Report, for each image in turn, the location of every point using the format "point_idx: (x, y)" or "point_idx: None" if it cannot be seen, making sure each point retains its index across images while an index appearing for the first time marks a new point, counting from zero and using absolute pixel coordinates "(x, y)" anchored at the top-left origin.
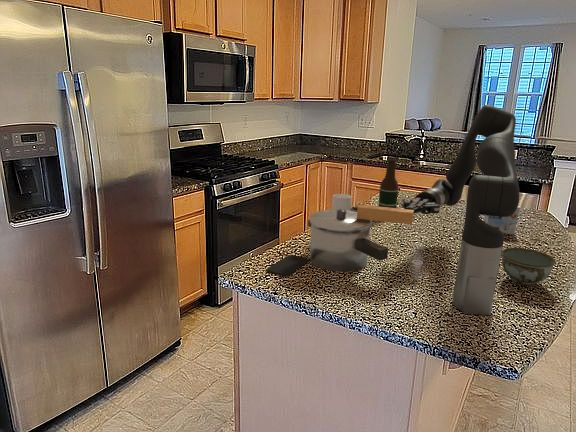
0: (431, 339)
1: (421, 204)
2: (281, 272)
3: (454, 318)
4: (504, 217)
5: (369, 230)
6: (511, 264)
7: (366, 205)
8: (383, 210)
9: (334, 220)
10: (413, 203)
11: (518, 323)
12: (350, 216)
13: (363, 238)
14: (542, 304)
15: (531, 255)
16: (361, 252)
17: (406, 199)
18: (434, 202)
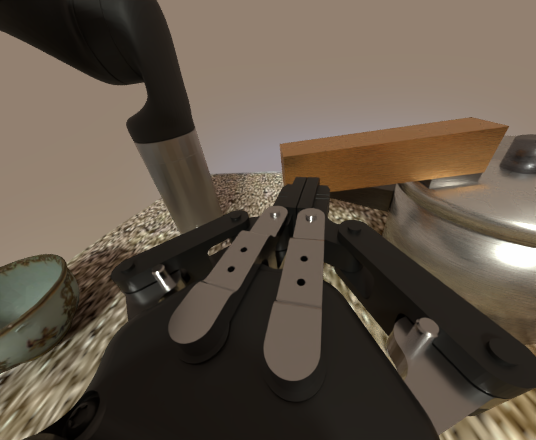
0: (250, 175)
1: (254, 229)
2: None
3: (227, 198)
4: None
5: (405, 201)
6: (70, 272)
7: (473, 129)
8: (378, 132)
9: (503, 153)
10: (311, 228)
11: (164, 213)
12: (527, 186)
13: (389, 188)
14: (96, 258)
15: None
16: (386, 220)
17: (448, 334)
18: (100, 374)
